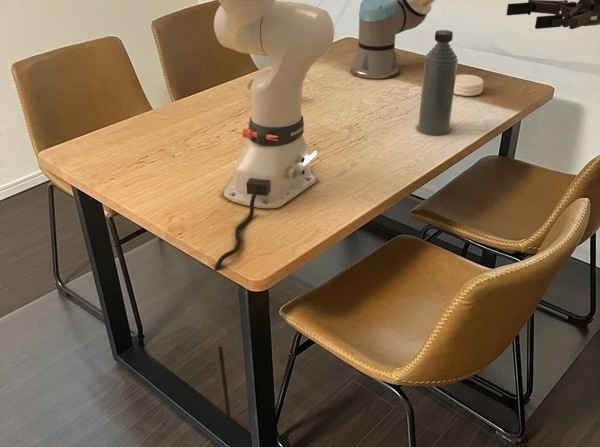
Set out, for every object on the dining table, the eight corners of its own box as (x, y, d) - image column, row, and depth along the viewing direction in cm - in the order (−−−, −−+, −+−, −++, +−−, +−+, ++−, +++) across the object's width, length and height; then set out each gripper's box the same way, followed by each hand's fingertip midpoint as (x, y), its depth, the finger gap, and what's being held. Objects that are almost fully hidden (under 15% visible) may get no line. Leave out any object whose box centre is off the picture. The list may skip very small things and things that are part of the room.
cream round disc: (444, 85, 192) (445, 74, 190) (475, 84, 193) (477, 73, 191) (454, 97, 183) (456, 86, 181) (487, 95, 184) (489, 84, 182)
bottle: (416, 123, 168) (424, 29, 155) (446, 122, 168) (457, 29, 155) (420, 135, 161) (429, 38, 148) (451, 135, 161) (464, 38, 148)
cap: (433, 37, 154) (434, 30, 153) (450, 37, 154) (451, 29, 153) (436, 42, 150) (436, 34, 149) (453, 42, 150) (454, 34, 149)
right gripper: (626, 37, 148) (546, 45, 144) (566, 13, 169) (494, 19, 165) (635, 5, 144) (553, 12, 140) (572, -16, 165) (499, -11, 161)
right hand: (521, 16), depth 153 cm, fingers open, 13 cm apart
